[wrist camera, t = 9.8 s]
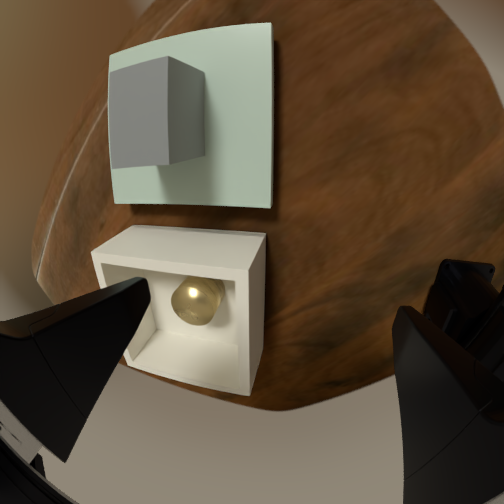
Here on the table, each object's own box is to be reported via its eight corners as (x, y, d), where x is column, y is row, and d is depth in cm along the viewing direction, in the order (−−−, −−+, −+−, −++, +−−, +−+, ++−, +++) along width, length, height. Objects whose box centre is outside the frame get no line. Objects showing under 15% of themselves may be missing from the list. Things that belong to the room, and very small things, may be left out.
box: (266, 233, 21) (248, 270, 15) (263, 348, 26) (249, 396, 20) (133, 224, 23) (90, 251, 18) (155, 328, 28) (128, 365, 23)
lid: (275, 32, 15) (255, -11, 8) (274, 201, 20) (255, 234, 14) (124, 58, 17) (66, 47, 11) (128, 197, 22) (73, 223, 16)
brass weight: (224, 271, 22) (211, 290, 19) (226, 307, 24) (215, 329, 21) (183, 266, 23) (167, 284, 20) (188, 301, 24) (174, 321, 22)
